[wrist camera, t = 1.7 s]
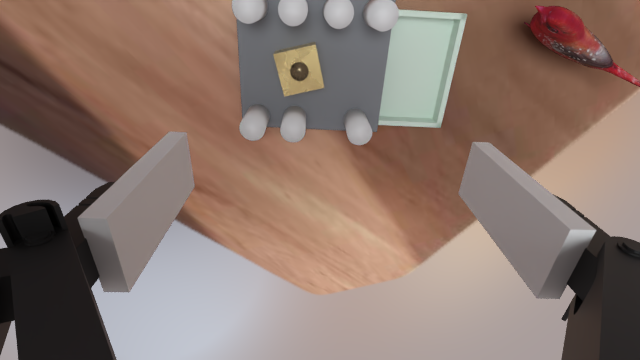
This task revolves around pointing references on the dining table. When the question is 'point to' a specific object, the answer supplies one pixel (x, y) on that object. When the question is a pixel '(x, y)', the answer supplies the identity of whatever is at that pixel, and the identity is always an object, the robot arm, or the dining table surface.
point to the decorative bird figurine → (573, 40)
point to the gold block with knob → (299, 69)
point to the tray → (420, 67)
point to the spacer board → (335, 61)
